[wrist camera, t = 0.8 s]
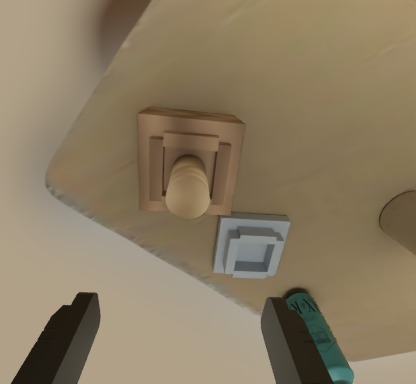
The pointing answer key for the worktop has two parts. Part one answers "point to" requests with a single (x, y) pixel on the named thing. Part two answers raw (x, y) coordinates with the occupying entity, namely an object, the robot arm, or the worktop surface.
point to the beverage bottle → (322, 337)
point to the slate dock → (250, 244)
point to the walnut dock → (188, 144)
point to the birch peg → (188, 188)
